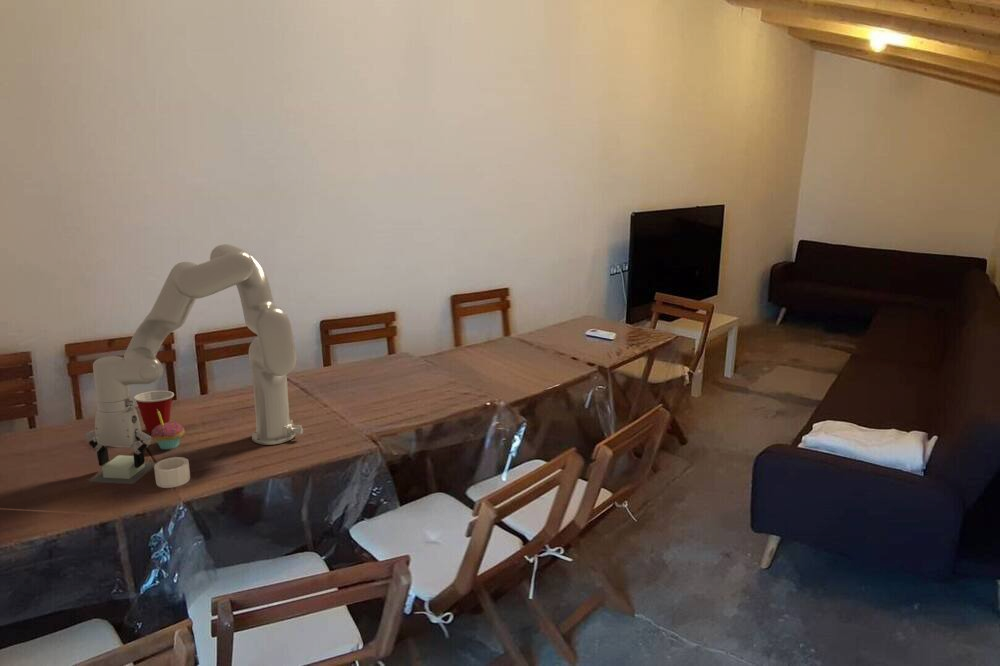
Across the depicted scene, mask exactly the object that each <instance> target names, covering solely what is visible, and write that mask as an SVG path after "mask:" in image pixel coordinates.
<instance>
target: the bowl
mask: <svg viewBox="0 0 1000 666" xmlns="http://www.w3.org/2000/svg"><path fill="white" fill-rule="evenodd" d="M155 463H156V464H155V465H154V467H153V469H154V477H155V484H156V486H157V487H159V488H162V489H163V488H165V489H170V488H171V489H172V488H177V487H180V486H183V485H185V484H187V483H188V482H189V481H190V480H191V471H190V463H189V459H188V458H185V457H180V456H179V457H178V456H174V457H173V456H172V457H168V458H164V459H162V460H159V461H157V462H155Z"/></svg>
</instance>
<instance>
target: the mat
mask: <svg viewBox="0 0 1000 666" xmlns="http://www.w3.org/2000/svg"><path fill="white" fill-rule="evenodd" d="M156 463H157V462H153V461H152V462H151V461H149V462H148V461H144V464H145V467H144V468H142V469H141V470H140V471H139V472H137V473H136V474H135V475H134V476H132V477H131V478H130V479H122V478H103V471H101V472H99V473H98V474H96V475H95V476H94V477H92V478H91V479H90V480H88V483H100V484H101V483H102V484H103V483H104V484H105V483H106V484H121V485H122V484H124V485H134V484H135V483H137V482H138V481H139V480H140V479H142V478H143V477H144V476H145V475H147V474H148V473H149V472H150V471H151V470H152V469H154V465H155V464H156Z"/></svg>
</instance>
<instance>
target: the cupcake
mask: <svg viewBox="0 0 1000 666" xmlns="http://www.w3.org/2000/svg"><path fill="white" fill-rule="evenodd" d="M157 411H158V409H157ZM157 413H158V416H159V419H160V422H161V425H158V426H157V427H156V428H154V430H153V431H152V432H151V433H152V434H151V435H150V436H151V437H152V439H153V440H155V441H156V442H157V444H158V446H159V448H160V449H161V450H171V449H175V448H176V447H178V446H179V444H180V440H181V438H182V436H184V435H185V428H184V426H183V425H182V424H180V423H179V422H178V423H177V422H174V421H173V422H170V421H169V422H168V423H163V420H162V417H161V414H160V411H158V412H157Z"/></svg>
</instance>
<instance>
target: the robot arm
mask: <svg viewBox="0 0 1000 666" xmlns="http://www.w3.org/2000/svg"><path fill="white" fill-rule="evenodd" d="M209 256H210V257H209V260H208V261H205V262H202V263H199V264H197V263H194V262H190V261H181V262H178V263H176V264H175V265H174V266H173V267H172V269H171V270H170V272H169V274H168V275H167V278H166V280H165V282H164V284H163V286H162V287H161V290H160V292H159V294H158V296H157V299H156V300H155V302H154V304H153V306H152V308H151V310H150V312H148V314H147V315H146V316H145V318H144V320H143V321H142V322H141V323H140V324H139V326H137V329H136V330H135V331H134V334H133V335H132V338H131V339H130V342H129V343H128V346H127V348H126V350H125V352H124V355H123V357H121V356H117V355H112V356H111V355H109V356H104V357H100V358H97V359H95V360H94V362H93V363H92V370H93V379H94V387H95V394H96V402H97V403H96V404H97V409H96V412H95V419H94V430H91V431H89V432H87V433H86V434H84V436H85V438H86V440H87V441H88V444H89V445H90V446H91V447H92V448H93V450H94V452H96V455H97V461H98V465H99V467H100V466H101V467H103V466H104V465H106V464H107V463H108V462H110V461H109V460H110V458H109V450H108V449H109V448H108V447H117V448H130V449H131V450H132V451H133V452H134V454H133V456H134V464H135V468H139V467H140V466H141V465H143V464H144V462H146V460H145V459H146V458H145V452H144V451H145V450H146V449H148V447H149V446H150V444H151V441H152V439H153V438H152V435H150V434H148V433H145V432H143V431H142V425H141V422H140V418H139V415H138V411H137V408H136V407H135V405H136V400H132V396H131V390H130V389H131V387H130V385H149V384H152V383H155V382H157V381H159V380H160V378H161V377H162V375H163V373H164V372H163V371H164V368H163V365H162V363H161V361H160V360H159V359H158V358H157V354H158V352H159V350H160V348H161V346H162V344H163V343H164V341H165V340H166V338H167V337H168V336H169V335H170V334H171V333H172V332H174V331H176V330H178V329H180V328H181V327H183V326H184V324H185V323H186V321H187V318H188V316H189V314H190V312H191V310H192V308H193V306H194V304H195V303H196V300H198V299H202V298H207V297H209V296H212V295H215V294H217V293H219V292H222V291H224V290H226V289H228V288H232V287H233V286H234V287H235V286H236V288H237V292H238V295H239V299H240V303H241V307H242V308H241V309H242V312H243V317H244V318H243V319H244V323H245V326H246V327H247V328H248V330H250V331H251V332H252V333H254V334H256V335H257V337H255V338H254V339H253V340H252V341H251V342H250V345H249V347H248V359H249V364H250V369H251V376H252V385H253V397H254V398H253V399H254V409H255V410H254V412H255V423H256V426H255V427H256V429H255V430H254V431H253V432H252V433H251V440H252V441H253V442H254V443H256V444H259V445H263V446H264V445H265V446H266V445H267V446H269V445H270V446H272V445H273V446H274V445H278V444H283V443H287V442H289V441H290V440H292V439H294V438H295V437H296V435H302V434H303V433H304V428H303V425H302V424H295V423H294V422H293V421H294V420H293V419H290V409H289V408H290V407H289V393H288V378H287V375H288V374H289V373H291V372H292V371H293V370H294V368H295V366H296V363H297V350H296V343H295V338H294V334H293V328H292V325H291V321H290V319H289V316H288V315H287V313H286V312H285V311H284V310H283V309H282V308H280V307H279V306H277V305H276V304H275V302H274V298H273V294H272V293H273V292H272V290H271V286H270V283H269V279H268V276H267V274H266V272H265V269H264V268H263V267H262V265H261V264H260V263H259V261H258V260H257V259H256V258H255V257H254V256H253V255H251V254H250V253H249V252H247V251H246V250H244V249H242V248H240V247H238V246H234V245H231V244H225V243H224V244H218V245H216V246H215V247H213V249H212V250H211V252H210V255H209ZM141 441H142V442H141Z"/></svg>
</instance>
